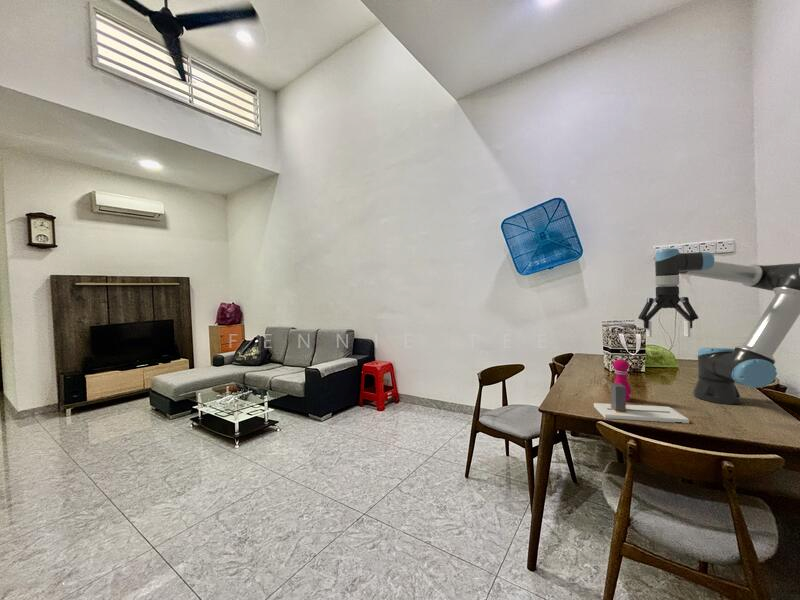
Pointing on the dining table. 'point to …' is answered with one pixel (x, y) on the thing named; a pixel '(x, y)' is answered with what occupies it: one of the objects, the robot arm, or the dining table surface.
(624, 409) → the fader knob
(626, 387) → the pepper mill
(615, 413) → the plate
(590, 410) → the dining table surface
